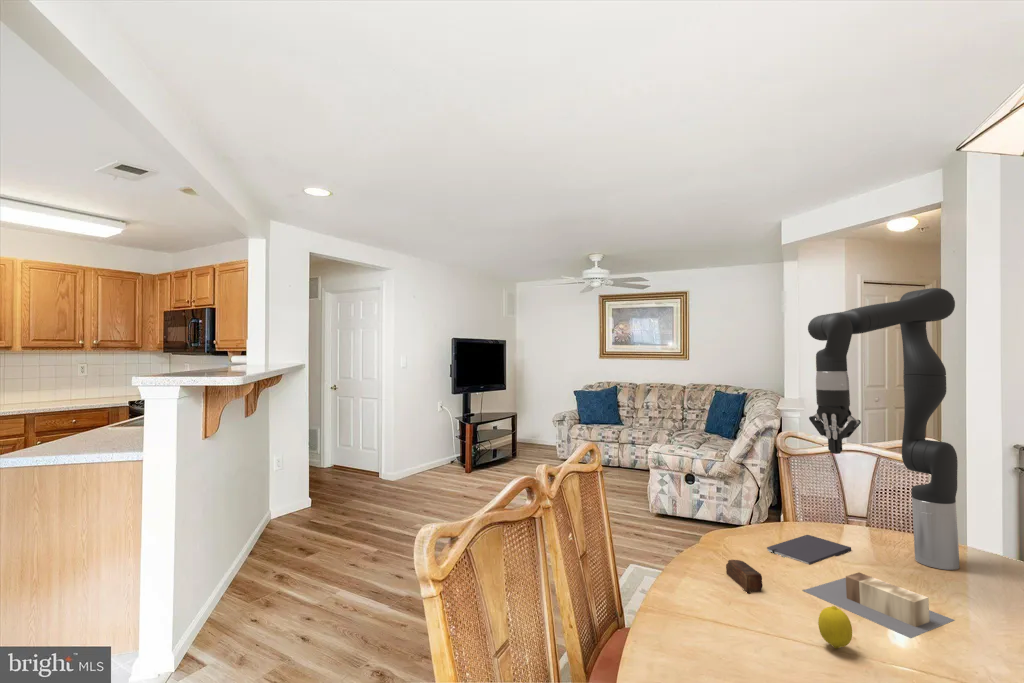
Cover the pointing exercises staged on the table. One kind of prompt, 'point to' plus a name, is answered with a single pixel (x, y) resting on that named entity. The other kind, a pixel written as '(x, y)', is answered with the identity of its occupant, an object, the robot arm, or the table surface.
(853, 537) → the table surface
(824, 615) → the lemon
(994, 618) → the table surface
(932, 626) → the rubber mat
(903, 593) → the tall block
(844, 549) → the notebook
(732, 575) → the brick
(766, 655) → the table surface
